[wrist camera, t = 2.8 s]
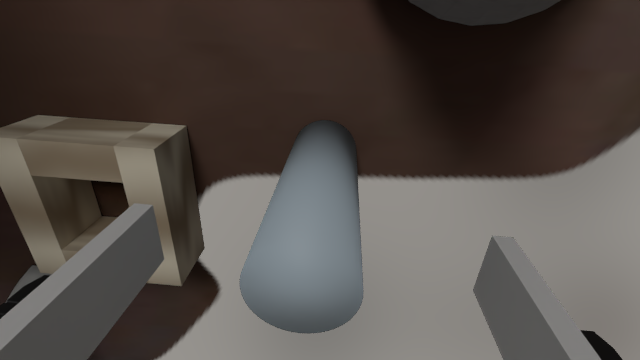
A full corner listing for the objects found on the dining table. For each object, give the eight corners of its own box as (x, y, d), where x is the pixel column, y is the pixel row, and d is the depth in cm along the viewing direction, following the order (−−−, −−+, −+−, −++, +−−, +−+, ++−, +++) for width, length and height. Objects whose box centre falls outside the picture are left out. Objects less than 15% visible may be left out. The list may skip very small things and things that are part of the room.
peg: (294, 117, 20) (235, 235, 10) (359, 122, 20) (370, 247, 10) (293, 175, 22) (243, 327, 12) (352, 180, 22) (356, 338, 11)
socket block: (37, 115, 22) (-23, 135, 18) (186, 125, 21) (153, 149, 18) (81, 237, 26) (40, 272, 23) (204, 248, 26) (181, 286, 22)
